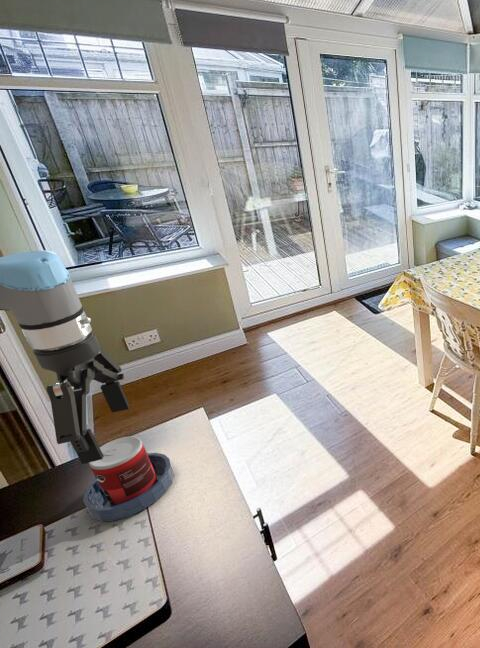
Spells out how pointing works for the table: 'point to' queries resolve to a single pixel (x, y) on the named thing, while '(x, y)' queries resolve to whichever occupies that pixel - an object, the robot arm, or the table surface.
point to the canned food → (124, 470)
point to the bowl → (109, 512)
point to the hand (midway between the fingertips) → (108, 433)
